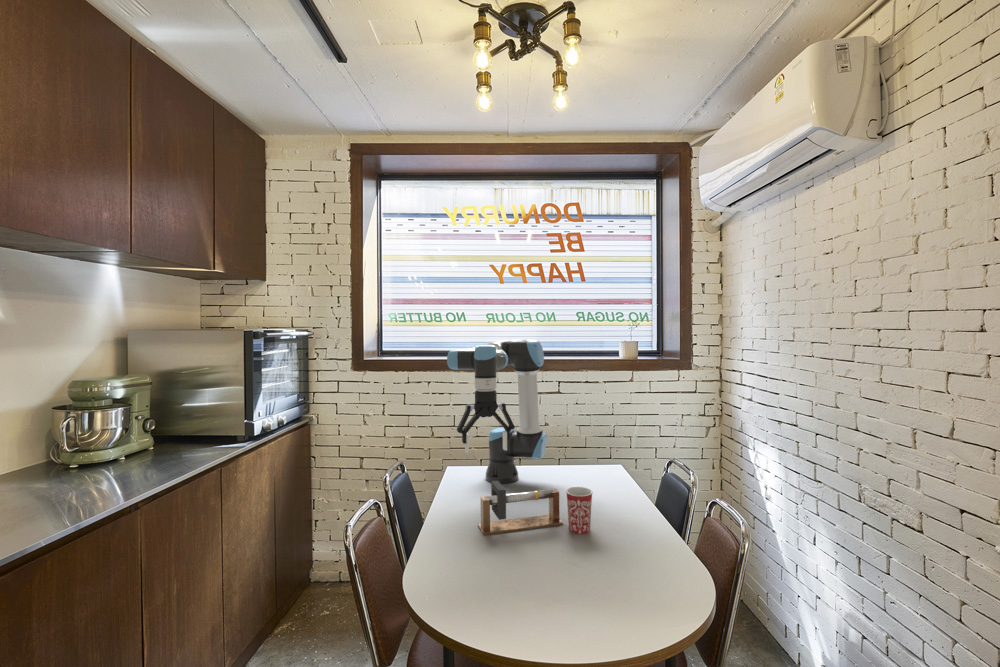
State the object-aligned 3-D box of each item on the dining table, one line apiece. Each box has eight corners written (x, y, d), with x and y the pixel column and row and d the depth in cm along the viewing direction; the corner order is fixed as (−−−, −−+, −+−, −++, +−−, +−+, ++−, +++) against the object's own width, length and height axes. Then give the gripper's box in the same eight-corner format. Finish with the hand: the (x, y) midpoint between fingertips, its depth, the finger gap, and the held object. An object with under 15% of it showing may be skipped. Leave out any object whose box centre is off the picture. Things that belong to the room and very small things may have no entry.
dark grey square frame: (499, 519, 161) (498, 490, 161) (491, 509, 171) (491, 481, 170) (506, 518, 162) (505, 489, 161) (498, 508, 171) (497, 480, 171)
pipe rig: (483, 535, 161) (483, 501, 160) (478, 525, 168) (477, 493, 168) (563, 524, 168) (562, 492, 168) (554, 516, 176) (554, 484, 176)
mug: (593, 536, 159) (593, 496, 159) (566, 534, 160) (565, 495, 160) (592, 521, 171) (591, 483, 171) (566, 519, 173) (566, 482, 173)
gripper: (452, 392, 157) (452, 456, 158) (523, 389, 165) (523, 450, 165) (448, 390, 165) (448, 451, 165) (516, 387, 172) (516, 445, 172)
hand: (486, 451), depth 165 cm, fingers open, 13 cm apart
